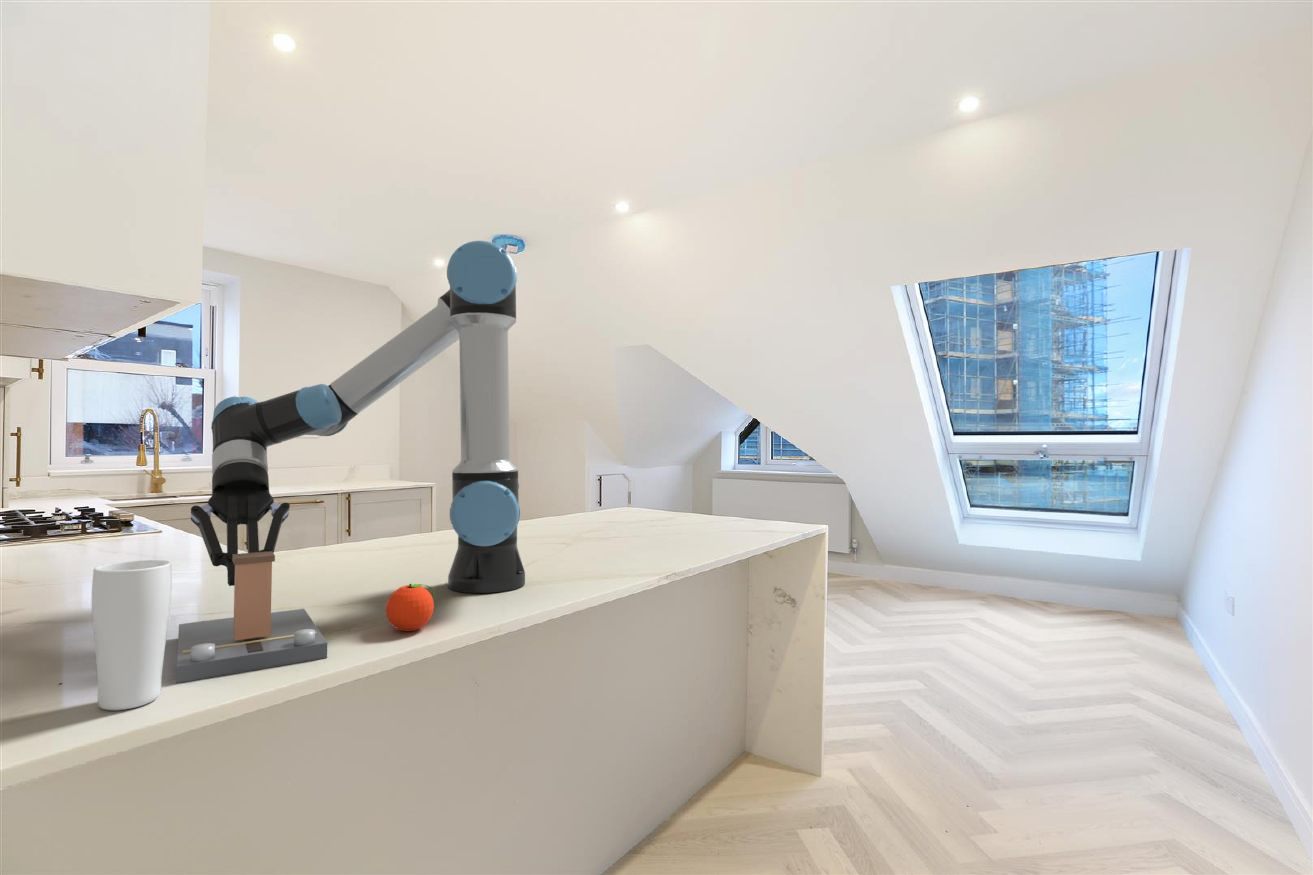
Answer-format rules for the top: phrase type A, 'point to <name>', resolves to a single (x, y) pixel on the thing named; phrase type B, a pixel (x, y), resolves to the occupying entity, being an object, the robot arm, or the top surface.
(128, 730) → the top surface
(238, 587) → the fader tab
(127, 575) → the white tumbler
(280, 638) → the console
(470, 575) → the robot arm
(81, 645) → the top surface
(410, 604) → the clementine
